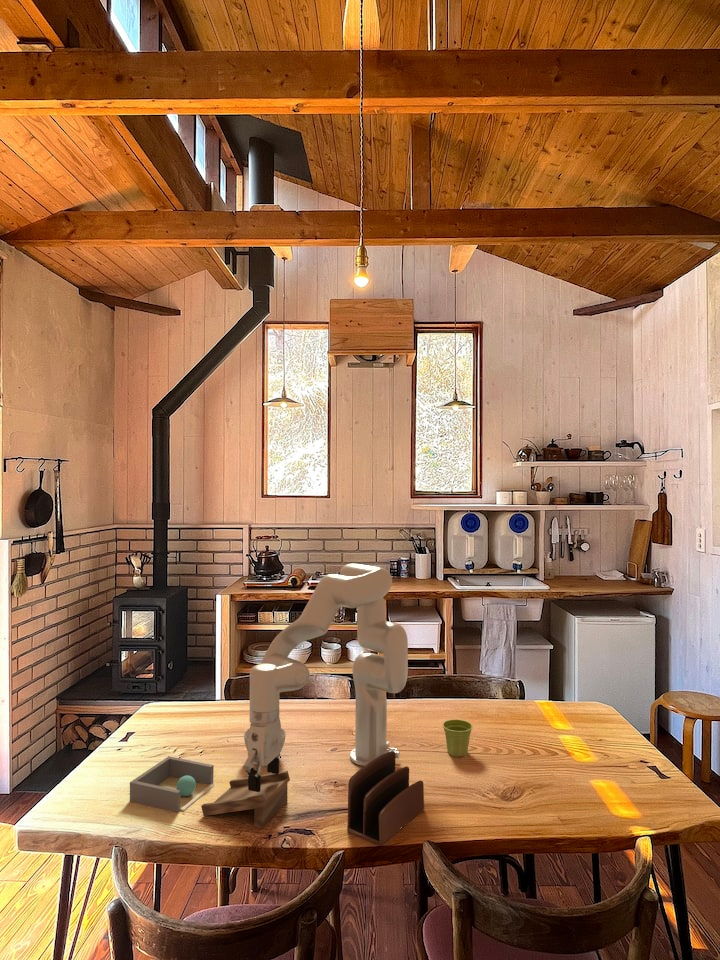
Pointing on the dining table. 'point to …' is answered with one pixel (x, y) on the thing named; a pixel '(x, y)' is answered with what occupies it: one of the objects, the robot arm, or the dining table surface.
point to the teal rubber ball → (186, 785)
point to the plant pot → (457, 736)
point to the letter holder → (382, 799)
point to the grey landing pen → (167, 798)
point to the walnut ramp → (253, 798)
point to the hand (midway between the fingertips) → (264, 781)
